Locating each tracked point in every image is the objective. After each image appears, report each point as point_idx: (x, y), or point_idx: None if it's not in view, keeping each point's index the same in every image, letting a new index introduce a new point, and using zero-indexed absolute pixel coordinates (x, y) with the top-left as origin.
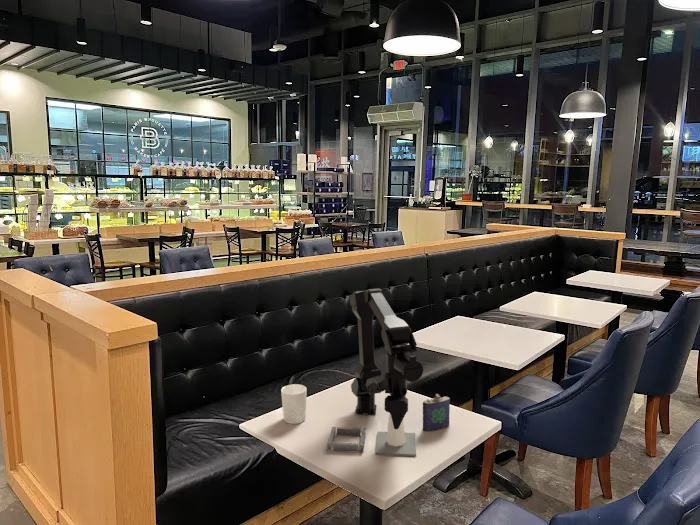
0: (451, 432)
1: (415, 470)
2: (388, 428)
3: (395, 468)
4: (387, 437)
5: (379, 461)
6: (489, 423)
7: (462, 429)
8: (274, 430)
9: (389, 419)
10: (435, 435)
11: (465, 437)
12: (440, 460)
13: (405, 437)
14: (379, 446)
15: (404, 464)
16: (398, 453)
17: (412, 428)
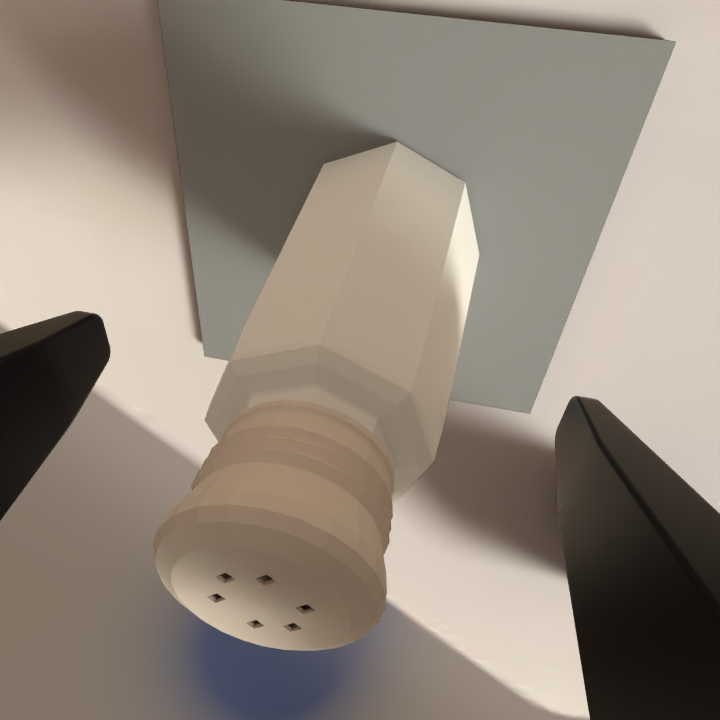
0: (515, 576)
1: (45, 310)
2: (347, 216)
3: (12, 177)
4: (370, 166)
5: (60, 29)
6: (571, 703)
7: (538, 620)
8: None
9: (311, 292)
10: (493, 505)
11: (445, 604)
12: (196, 455)
13: (463, 332)
14: (291, 45)
15: (89, 253)
16: (192, 234)
17: (649, 407)
